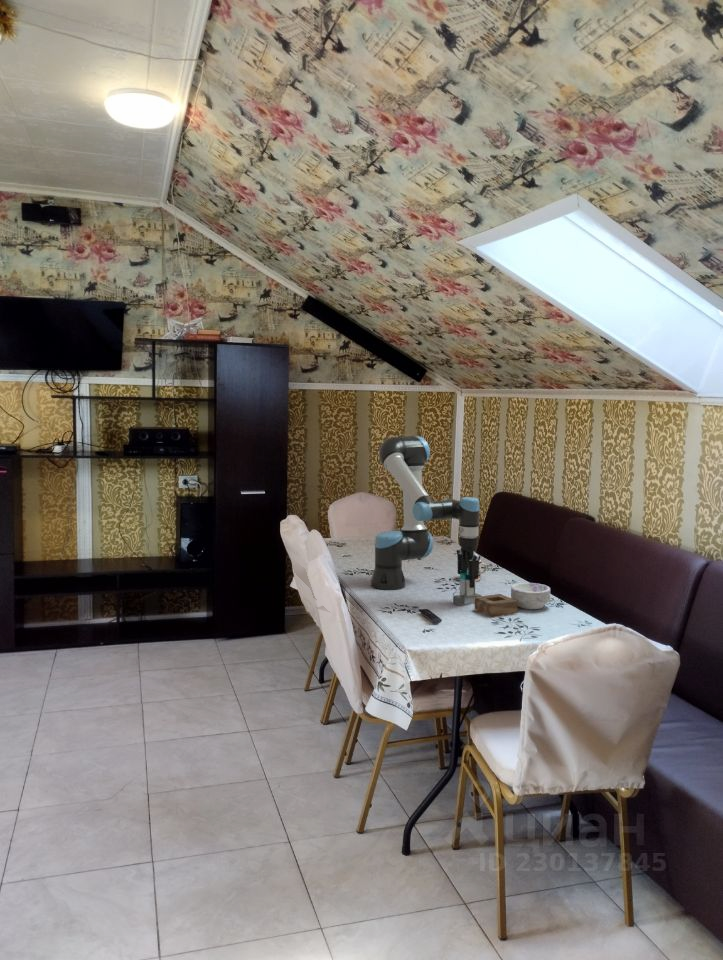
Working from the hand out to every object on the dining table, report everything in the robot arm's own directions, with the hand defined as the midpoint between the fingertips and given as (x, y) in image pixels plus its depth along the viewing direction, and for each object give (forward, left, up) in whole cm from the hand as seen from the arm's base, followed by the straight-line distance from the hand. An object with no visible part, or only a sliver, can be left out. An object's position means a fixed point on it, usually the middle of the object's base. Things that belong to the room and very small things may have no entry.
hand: (467, 593), depth 303 cm
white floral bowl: (+15, +20, -4) cm, 25 cm away
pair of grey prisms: (0, 0, -4) cm, 4 cm away
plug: (0, 0, -4) cm, 4 cm away
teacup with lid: (-31, +25, -4) cm, 40 cm away
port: (+15, +3, -4) cm, 16 cm away
